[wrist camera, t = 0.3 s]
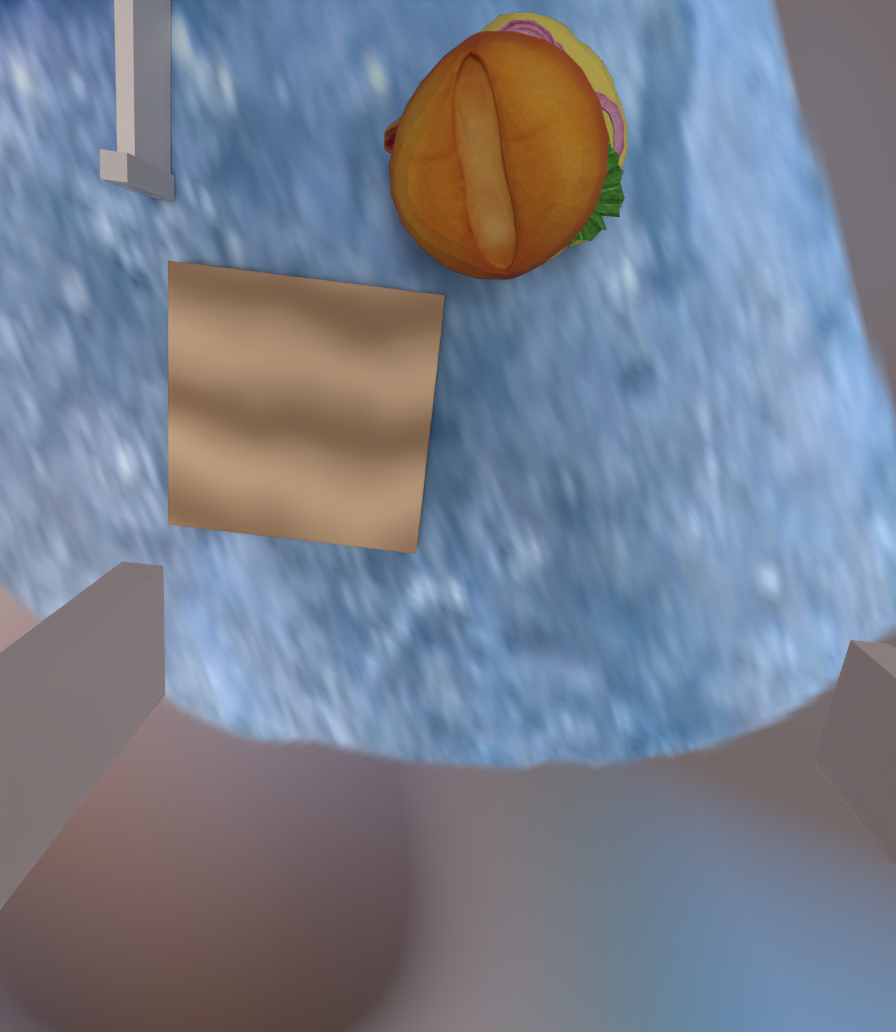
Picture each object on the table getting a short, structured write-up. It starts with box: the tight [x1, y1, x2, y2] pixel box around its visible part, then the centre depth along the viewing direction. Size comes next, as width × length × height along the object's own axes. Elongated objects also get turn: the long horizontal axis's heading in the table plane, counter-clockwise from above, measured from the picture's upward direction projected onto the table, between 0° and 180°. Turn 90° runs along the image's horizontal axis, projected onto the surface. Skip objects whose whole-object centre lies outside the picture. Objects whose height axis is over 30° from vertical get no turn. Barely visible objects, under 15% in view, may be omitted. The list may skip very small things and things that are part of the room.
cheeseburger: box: [384, 12, 628, 280], centre depth 30 cm, size 10×11×10 cm
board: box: [168, 261, 446, 554], centre depth 37 cm, size 14×14×2 cm
